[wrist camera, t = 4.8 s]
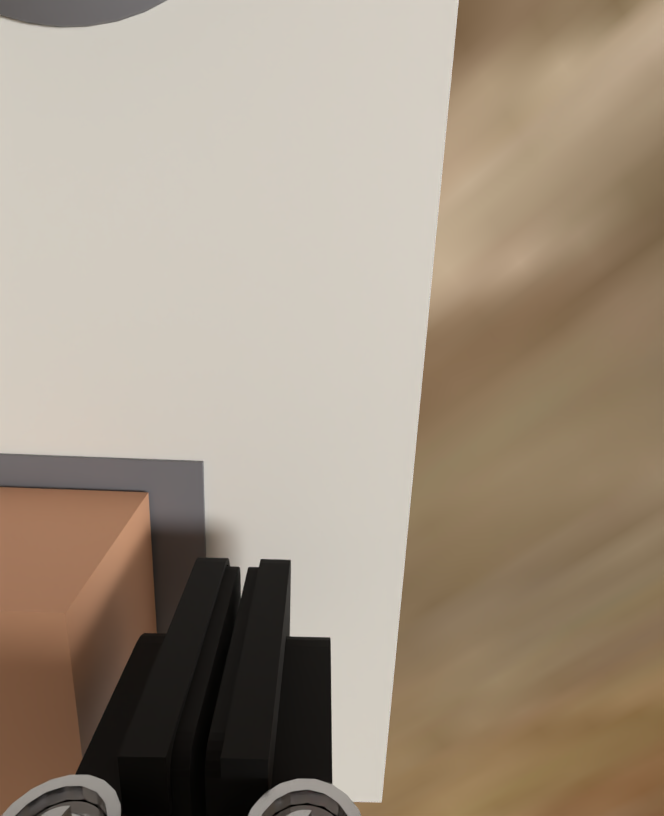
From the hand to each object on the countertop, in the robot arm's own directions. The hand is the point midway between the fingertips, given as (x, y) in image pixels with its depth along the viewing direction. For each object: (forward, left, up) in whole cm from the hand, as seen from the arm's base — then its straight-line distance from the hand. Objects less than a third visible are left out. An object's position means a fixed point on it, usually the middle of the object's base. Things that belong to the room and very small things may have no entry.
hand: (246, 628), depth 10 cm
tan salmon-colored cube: (0, -3, -1) cm, 4 cm away
